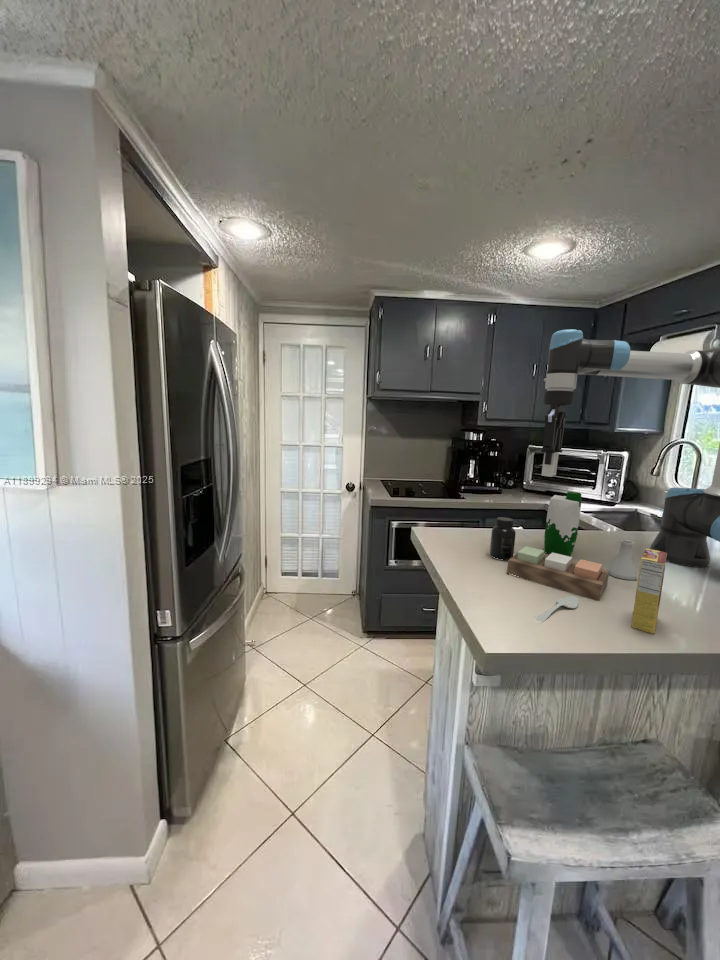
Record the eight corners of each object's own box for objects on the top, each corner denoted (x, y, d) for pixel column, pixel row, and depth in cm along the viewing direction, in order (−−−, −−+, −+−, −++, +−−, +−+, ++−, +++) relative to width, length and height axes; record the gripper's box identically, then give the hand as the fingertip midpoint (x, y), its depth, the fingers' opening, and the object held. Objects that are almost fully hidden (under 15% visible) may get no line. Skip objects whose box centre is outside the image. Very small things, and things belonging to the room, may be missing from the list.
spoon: (583, 606, 91) (584, 599, 91) (536, 633, 79) (537, 625, 79) (565, 599, 95) (566, 592, 94) (517, 623, 82) (518, 616, 82)
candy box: (633, 611, 89) (645, 547, 86) (657, 618, 86) (669, 552, 84) (628, 626, 82) (640, 557, 80) (654, 635, 79) (667, 563, 77)
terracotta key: (600, 579, 101) (602, 564, 101) (595, 587, 96) (597, 572, 95) (578, 573, 105) (580, 559, 104) (572, 581, 99) (574, 566, 98)
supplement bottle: (515, 556, 121) (519, 518, 119) (510, 562, 116) (514, 523, 113) (492, 551, 125) (496, 514, 123) (486, 557, 119) (490, 519, 117)
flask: (642, 582, 106) (648, 547, 104) (612, 579, 107) (618, 544, 105) (629, 572, 113) (635, 538, 111) (602, 569, 114) (607, 536, 112)
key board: (607, 585, 103) (609, 570, 102) (599, 600, 94) (601, 584, 93) (521, 562, 116) (522, 549, 116) (506, 573, 107) (508, 559, 107)
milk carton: (571, 559, 120) (581, 496, 117) (540, 552, 125) (548, 491, 122) (575, 552, 127) (584, 492, 124) (545, 545, 133) (553, 487, 129)
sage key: (542, 564, 110) (544, 550, 109) (535, 571, 105) (537, 556, 104) (524, 559, 113) (526, 546, 113) (516, 565, 108) (518, 552, 107)
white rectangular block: (570, 571, 106) (572, 557, 105) (564, 579, 100) (566, 564, 100) (550, 566, 109) (552, 552, 108) (543, 573, 104) (545, 558, 103)
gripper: (552, 392, 115) (542, 471, 119) (536, 388, 103) (526, 476, 107) (581, 392, 111) (569, 474, 115) (567, 388, 98) (555, 480, 102)
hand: (548, 475), depth 111 cm, fingers open, 3 cm apart
